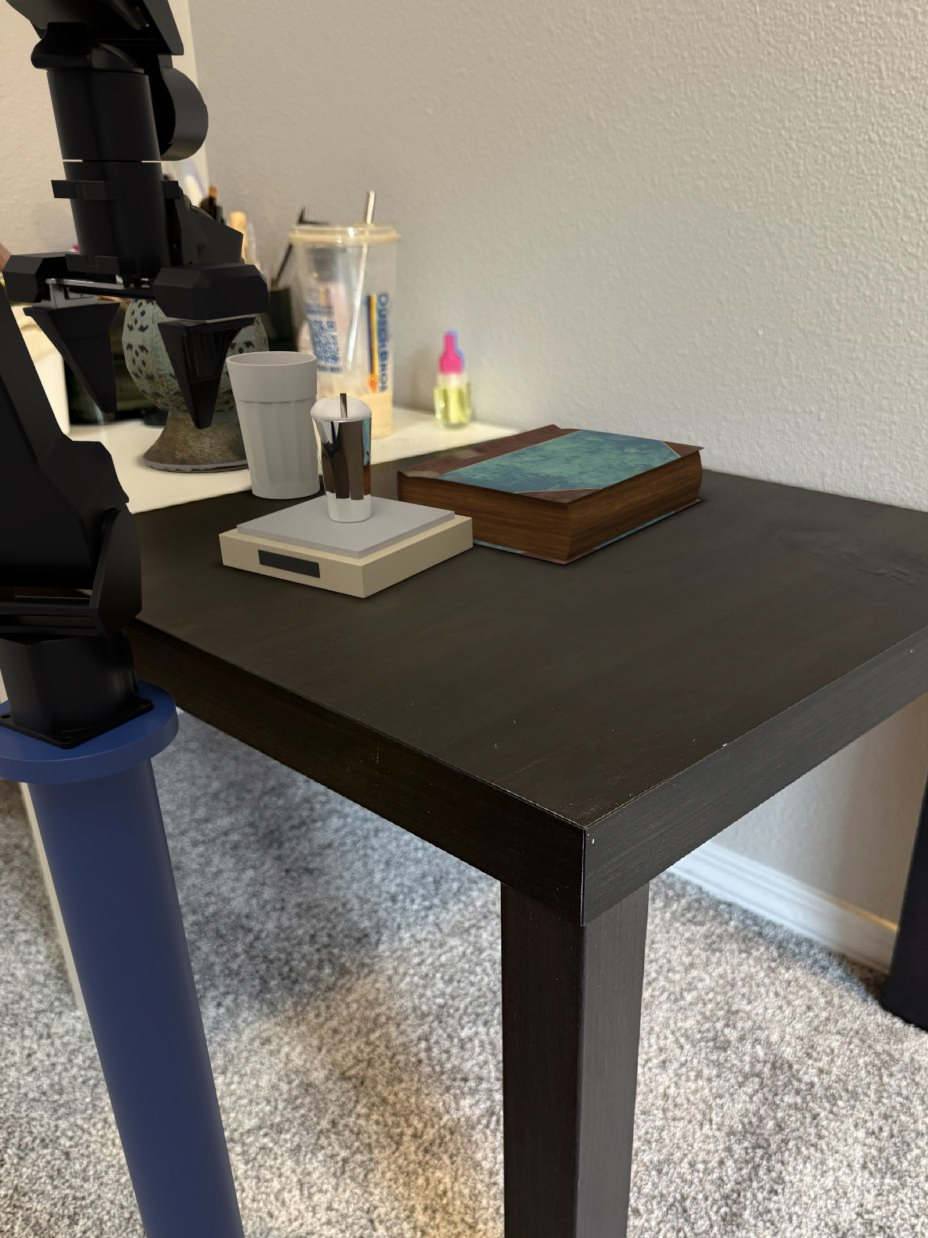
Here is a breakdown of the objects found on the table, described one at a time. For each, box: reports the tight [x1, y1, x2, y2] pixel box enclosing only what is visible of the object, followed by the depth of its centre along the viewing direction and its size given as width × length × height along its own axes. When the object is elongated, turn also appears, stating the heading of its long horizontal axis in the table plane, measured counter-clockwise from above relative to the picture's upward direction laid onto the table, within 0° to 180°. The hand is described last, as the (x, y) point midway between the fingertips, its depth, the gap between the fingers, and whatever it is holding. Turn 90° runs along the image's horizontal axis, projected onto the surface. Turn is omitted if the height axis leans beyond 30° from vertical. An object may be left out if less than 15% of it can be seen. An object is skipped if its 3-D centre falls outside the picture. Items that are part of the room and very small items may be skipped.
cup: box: [226, 350, 321, 500], centre depth 101 cm, size 8×8×12 cm
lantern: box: [121, 193, 270, 474], centre depth 109 cm, size 14×14×25 cm
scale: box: [218, 494, 474, 599], centre depth 86 cm, size 14×14×3 cm
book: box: [396, 423, 705, 565], centre depth 96 cm, size 23×18×5 cm
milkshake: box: [310, 392, 373, 523], centre depth 83 cm, size 4×5×10 cm
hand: (155, 420), depth 74 cm, fingers open, 9 cm apart
